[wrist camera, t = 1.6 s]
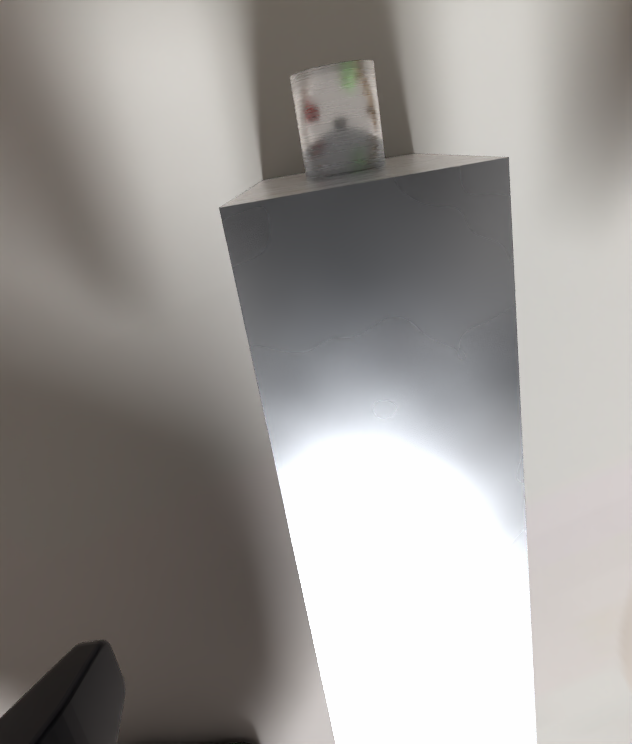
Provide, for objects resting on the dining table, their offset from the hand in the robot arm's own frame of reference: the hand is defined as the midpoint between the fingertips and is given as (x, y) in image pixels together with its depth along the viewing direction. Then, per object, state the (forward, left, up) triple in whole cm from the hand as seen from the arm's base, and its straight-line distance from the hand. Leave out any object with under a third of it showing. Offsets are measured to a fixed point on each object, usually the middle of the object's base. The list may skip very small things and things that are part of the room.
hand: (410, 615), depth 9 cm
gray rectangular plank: (0, 0, -6) cm, 6 cm away
